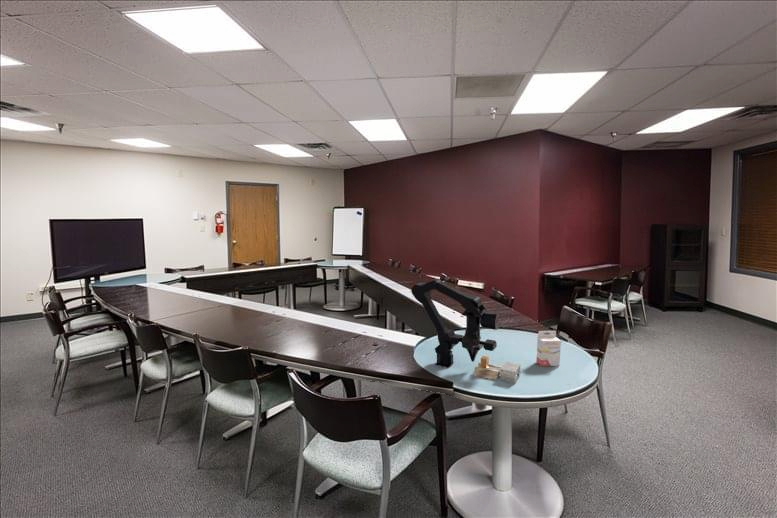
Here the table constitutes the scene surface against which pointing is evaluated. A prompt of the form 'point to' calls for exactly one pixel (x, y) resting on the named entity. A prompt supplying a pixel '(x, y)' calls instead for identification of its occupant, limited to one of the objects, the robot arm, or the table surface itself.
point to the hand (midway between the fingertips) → (472, 361)
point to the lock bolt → (486, 364)
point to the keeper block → (510, 372)
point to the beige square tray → (486, 372)
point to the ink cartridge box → (548, 349)
